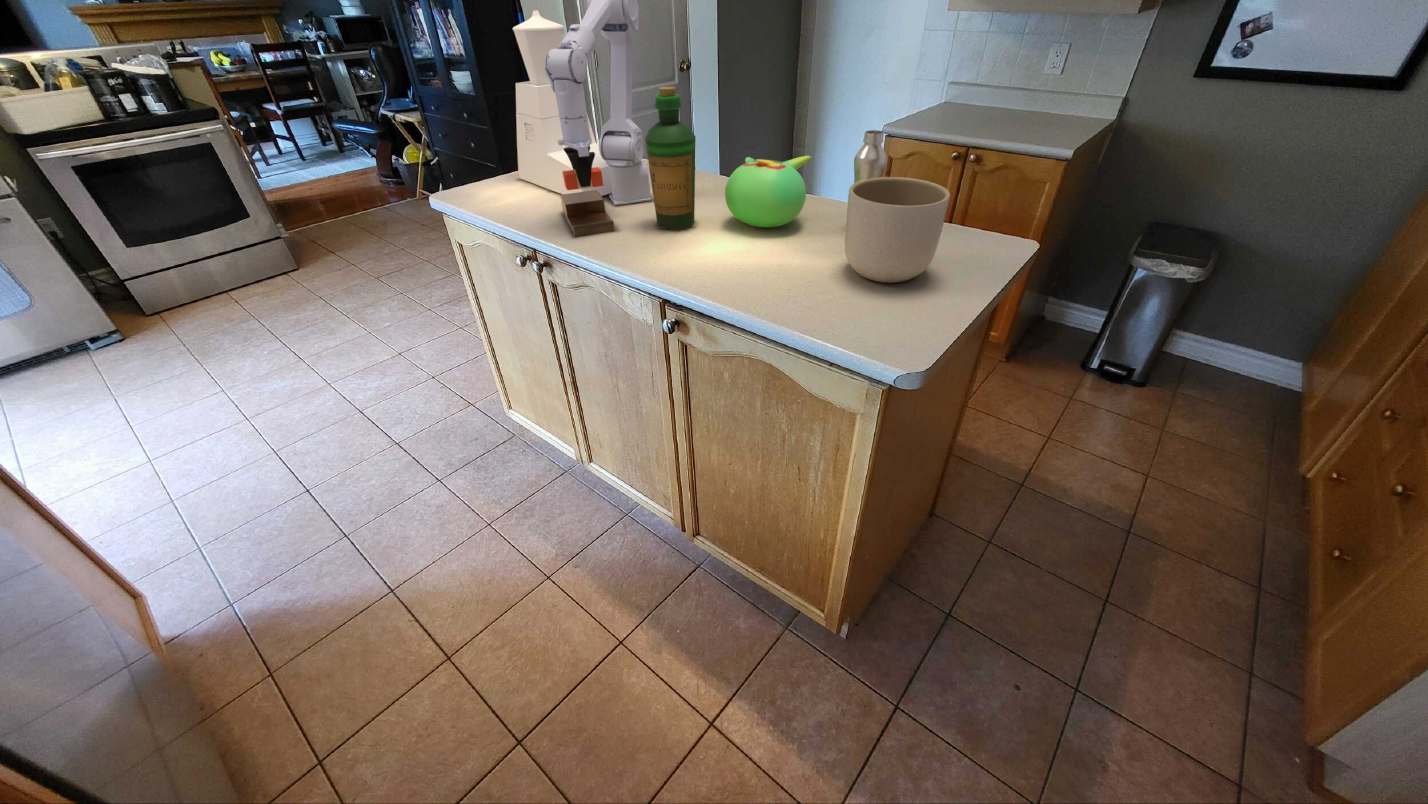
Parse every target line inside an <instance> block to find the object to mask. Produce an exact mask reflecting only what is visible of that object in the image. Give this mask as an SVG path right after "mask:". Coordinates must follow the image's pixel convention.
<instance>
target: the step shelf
mask: <svg viewBox="0 0 1428 804" xmlns="http://www.w3.org/2000/svg"><path fill="white" fill-rule="evenodd" d="M559 197H560V201H561V206H562V212H563V215H564V217H565V219H566V221H567V223H568V225H569V228H570V229H571V231H572V234H573V235H574V237H582V236H588V235H595V234H601V233H609V232H615V224H614V223H615V222H614V220H611V218H610V217H609V215H608V214H607V212H606V206H605V199H604V198H603V196H601V195H600V193H599V192H598V191H597V190H594V191H586V192H578V193H570V194H560V196H559Z"/></svg>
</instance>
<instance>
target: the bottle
mask: <svg viewBox="0 0 1428 804" xmlns="http://www.w3.org/2000/svg"><path fill="white" fill-rule="evenodd" d="M658 90H659V93H658V94H656V95H655V101H654V102H655V103H654V109H655V110H657V113H658V120H659V121H658V122H657V123H655V124H654V125H653V126H652V127H650V129H648V131H647V133H646V135H645V137H644V140H645V141H644V142H645V147H646V155H647V161H648V168H649V169H648V170H649V175H650V176H649V177H650V183H651V190H652V196H653V197H652V198H653V204H654V212H655V218H656V224H657V226H658V227H659V228H661V229H665V230H667V231H680V230H681V231H682V230H685V229H687V228H690V227H693V225H694V223H695V212H696V211H695V208H696V207H695V206H696V204H695V202H696V200H695V199H696V135H695V134H694V132H693V130H692V128H690V127H689V126H688V125H686V124H685V123H684V122H682V121H681V120H680V109H681V108H682V107H683V106H682V102H681V97H680V94H678V93H676V87H675V86H661V87H659V88H658Z"/></svg>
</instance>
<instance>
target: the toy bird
mask: <svg viewBox="0 0 1428 804" xmlns="http://www.w3.org/2000/svg"><path fill="white" fill-rule="evenodd" d="M811 159H812V156H811V155H803V156H799V157H796V158H792V159H789V160H785V161H781V160H776V159H774V160H773V159H763V158H761V159H760V158H759V159H757V158H756V159H754V158H752V157H750V156H748V157H745V160H744V161H745V163H743V164H741V165H740V166H738V167H737V168H736V169H734V171H733V172H732V173H731V175H730V176H729V178H728V179H727V182H726V184H725V188H724V189H725V190H724V197H725V199H724V200H725V203H726V206H727V208H728V210H729V212H730V213H731V214H732V216H734V217H735V218H736V219H737V220H739V221H740V222H742V223H744V224H746V225H749V226H752V227H755V228H756V227H757V228H777V227H781V226H784V225H786V224H788V223H790V222H792V221H793V220H795V218H797V217H798V215H800V213H801V212H802V211H803V208H804V206H805V203H806V198H807V188H806V184H805V181H804V179H803V177H802V175H801V173H799V172H798V171H797V170H798V169H800V168H801V167H802V166H804V165H805V164H806V163H808V162H809V161H810V160H811Z"/></svg>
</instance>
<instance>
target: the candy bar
mask: <svg viewBox="0 0 1428 804" xmlns="http://www.w3.org/2000/svg"><path fill="white" fill-rule="evenodd" d="M562 172H563V178H564V183H565V187H566V189H567V190H575V189H583V188H591V187H598V186H603V179H602V171H601V170H600V169H599V167H594V168H592V170H591V185H590V186H588V187H581V186H580V184H579V181H578V178H577V174H576V171H575V170H569V171H562Z"/></svg>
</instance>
